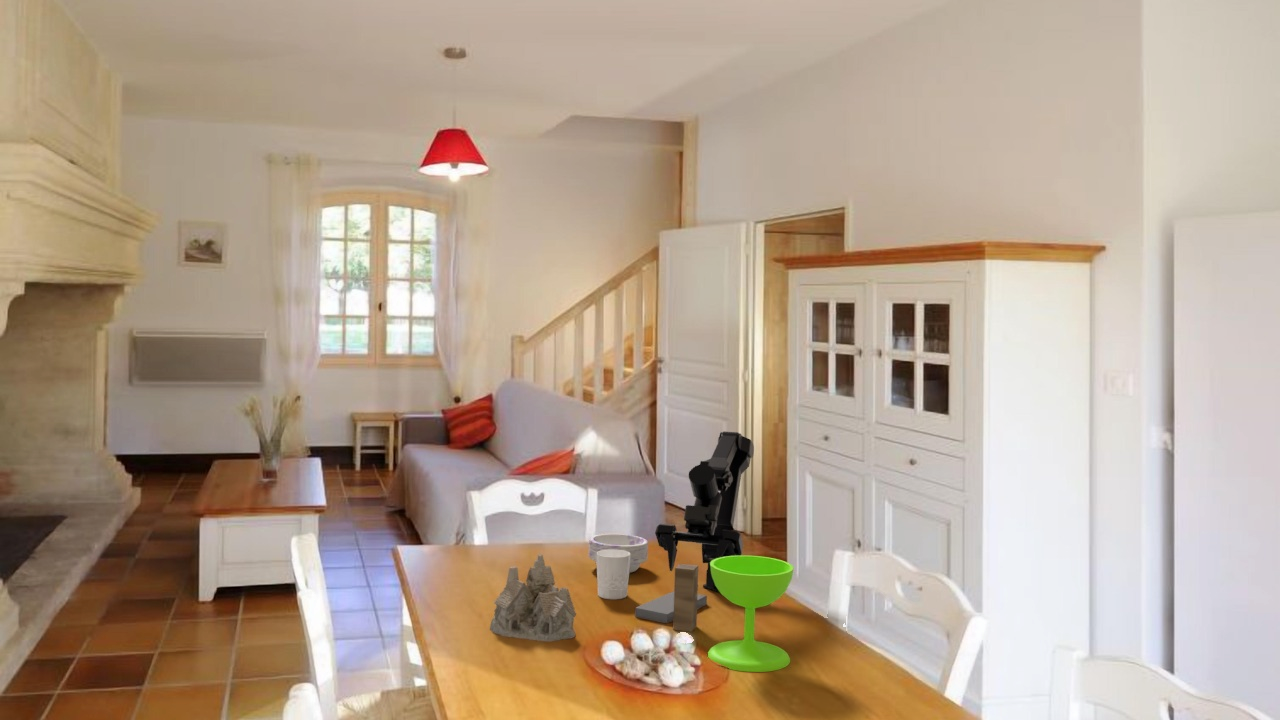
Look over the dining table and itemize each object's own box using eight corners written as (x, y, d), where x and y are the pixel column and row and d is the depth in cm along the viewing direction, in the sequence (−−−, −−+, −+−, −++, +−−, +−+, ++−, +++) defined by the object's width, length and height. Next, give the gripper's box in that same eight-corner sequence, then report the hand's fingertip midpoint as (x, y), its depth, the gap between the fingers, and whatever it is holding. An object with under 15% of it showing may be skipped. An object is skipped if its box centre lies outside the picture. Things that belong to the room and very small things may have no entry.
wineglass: (695, 663, 193) (698, 569, 192) (721, 639, 208) (724, 552, 207) (778, 677, 187) (781, 579, 186) (798, 651, 202) (802, 561, 201)
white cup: (625, 601, 233) (626, 558, 233) (591, 598, 235) (593, 555, 235) (632, 592, 241) (633, 550, 241) (600, 590, 243) (601, 548, 242)
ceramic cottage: (484, 622, 214) (489, 552, 213) (558, 618, 221) (564, 550, 219) (504, 650, 200) (510, 575, 199) (583, 645, 206) (589, 572, 205)
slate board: (676, 598, 237) (676, 590, 237) (706, 604, 233) (706, 595, 233) (635, 616, 222) (635, 607, 222) (667, 623, 218) (667, 614, 218)
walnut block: (678, 624, 217) (680, 563, 217) (696, 626, 216) (698, 565, 216) (673, 629, 214) (675, 567, 213) (691, 631, 212) (693, 569, 212)
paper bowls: (658, 568, 265) (659, 538, 265) (626, 580, 252) (627, 548, 252) (609, 559, 273) (610, 530, 273) (576, 570, 261) (577, 539, 260)
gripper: (659, 487, 226) (642, 546, 215) (742, 494, 220) (729, 555, 210) (667, 516, 233) (652, 575, 223) (748, 524, 228) (736, 584, 218)
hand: (691, 572), depth 218 cm, fingers open, 9 cm apart
